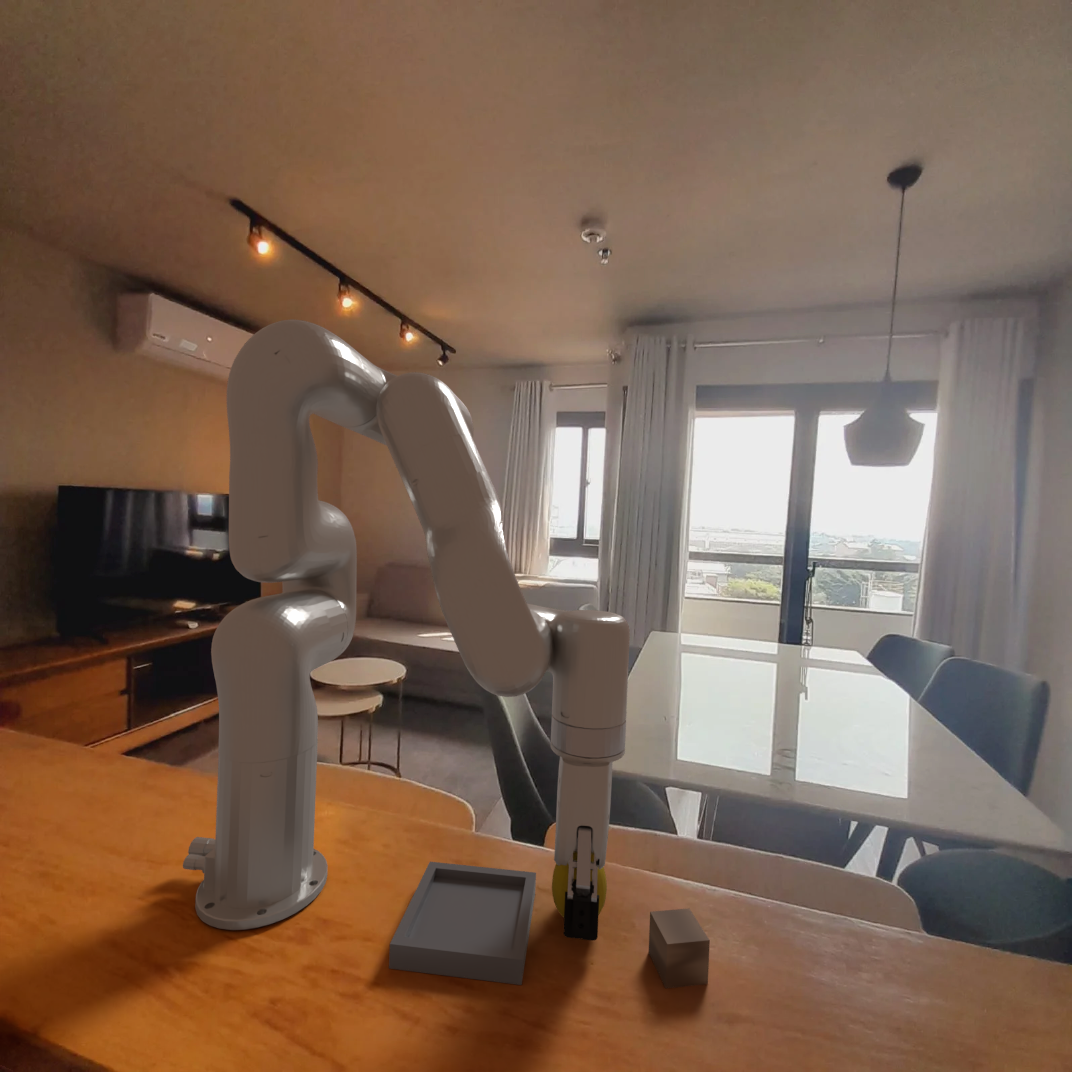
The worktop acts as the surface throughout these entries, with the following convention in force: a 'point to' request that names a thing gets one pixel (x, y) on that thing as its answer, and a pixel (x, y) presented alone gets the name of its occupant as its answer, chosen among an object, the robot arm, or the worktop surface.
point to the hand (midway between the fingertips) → (580, 907)
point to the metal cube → (678, 948)
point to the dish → (467, 923)
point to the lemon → (562, 879)
